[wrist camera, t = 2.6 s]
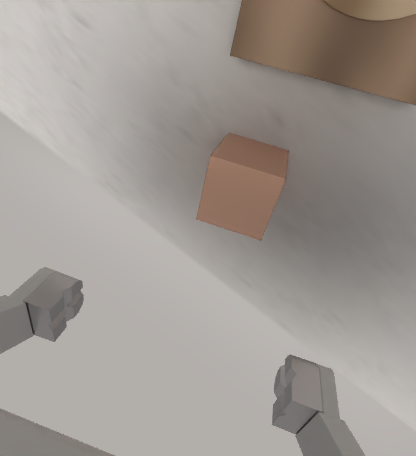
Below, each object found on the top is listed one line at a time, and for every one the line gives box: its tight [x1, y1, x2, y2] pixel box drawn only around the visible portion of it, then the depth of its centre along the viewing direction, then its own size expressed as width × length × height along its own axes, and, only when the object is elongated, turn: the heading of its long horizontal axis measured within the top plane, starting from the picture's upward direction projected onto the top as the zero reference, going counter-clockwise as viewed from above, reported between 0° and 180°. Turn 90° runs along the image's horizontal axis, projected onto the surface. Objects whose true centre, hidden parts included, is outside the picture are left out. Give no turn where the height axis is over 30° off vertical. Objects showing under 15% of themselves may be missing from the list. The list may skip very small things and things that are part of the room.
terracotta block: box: [196, 133, 289, 240], centre depth 22 cm, size 5×5×6 cm
